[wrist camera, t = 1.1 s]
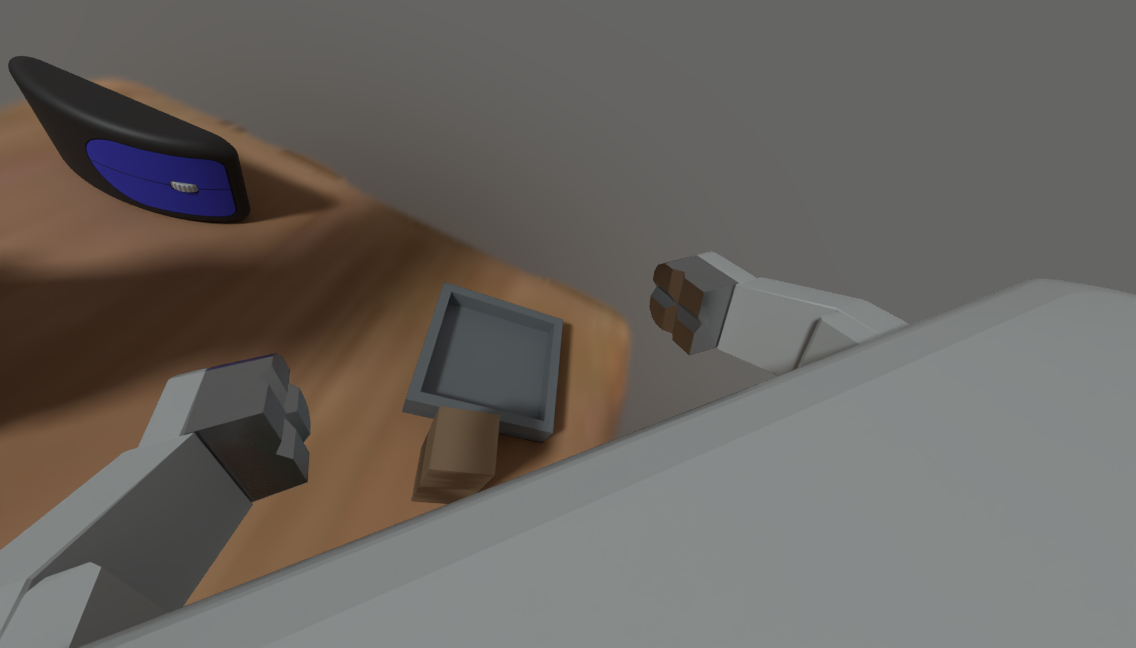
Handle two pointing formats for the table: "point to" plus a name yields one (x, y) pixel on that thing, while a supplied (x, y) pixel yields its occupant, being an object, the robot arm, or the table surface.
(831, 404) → the robot arm
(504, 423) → the tray
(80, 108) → the blue scroll wheel mouse
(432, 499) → the walnut block
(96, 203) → the table surface
